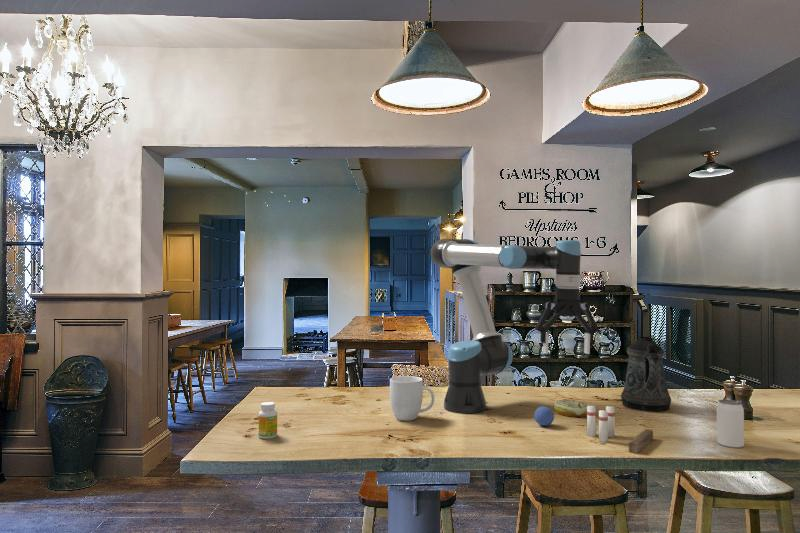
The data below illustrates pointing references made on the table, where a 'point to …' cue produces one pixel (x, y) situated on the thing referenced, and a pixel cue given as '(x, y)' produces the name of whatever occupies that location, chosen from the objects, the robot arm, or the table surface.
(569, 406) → the decorated donut
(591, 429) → the pin front
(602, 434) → the pin back right
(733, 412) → the can
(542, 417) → the ball
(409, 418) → the mug
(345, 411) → the table surface
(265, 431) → the supplement bottle
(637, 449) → the rail
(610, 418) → the pin back left
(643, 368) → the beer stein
